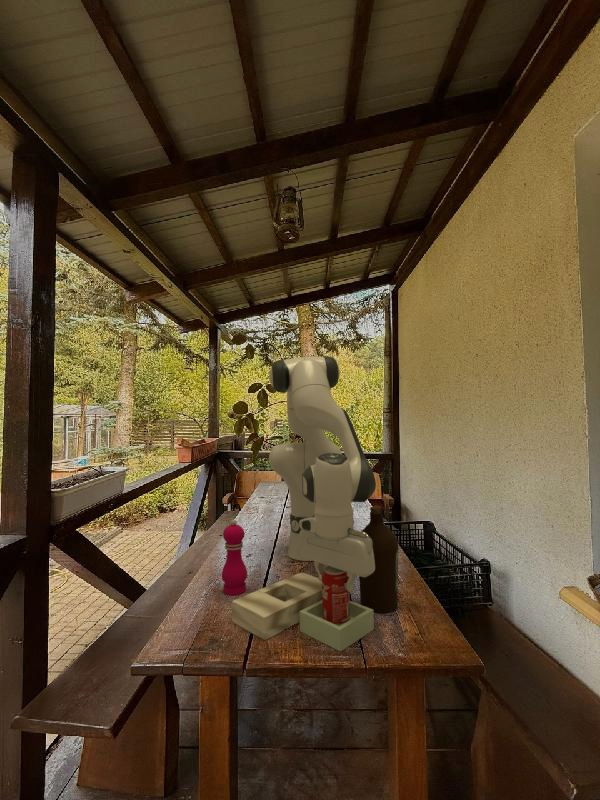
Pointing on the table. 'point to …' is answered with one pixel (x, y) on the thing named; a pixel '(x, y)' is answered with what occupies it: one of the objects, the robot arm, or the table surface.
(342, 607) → the beverage can
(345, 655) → the table surface
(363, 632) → the shallow square tray
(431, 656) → the table surface
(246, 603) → the socket beam
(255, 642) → the table surface
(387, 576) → the olive oil
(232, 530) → the pepper mill
